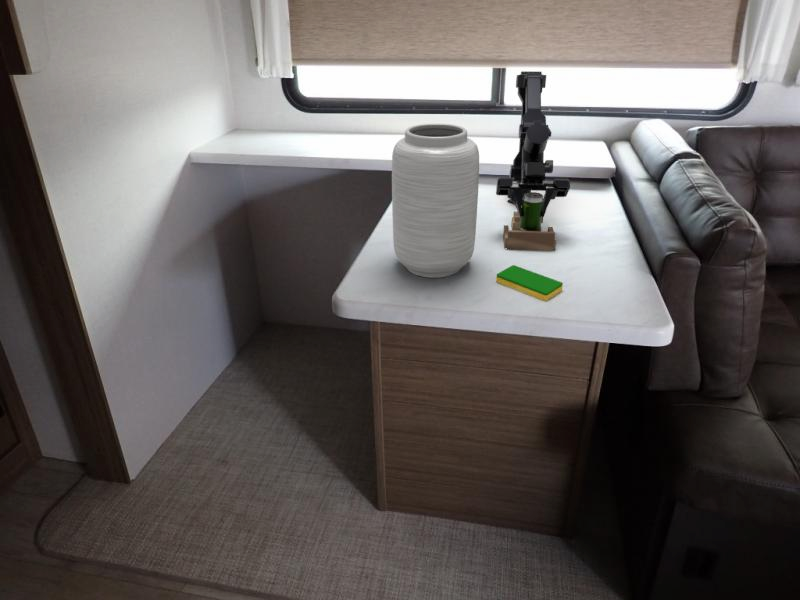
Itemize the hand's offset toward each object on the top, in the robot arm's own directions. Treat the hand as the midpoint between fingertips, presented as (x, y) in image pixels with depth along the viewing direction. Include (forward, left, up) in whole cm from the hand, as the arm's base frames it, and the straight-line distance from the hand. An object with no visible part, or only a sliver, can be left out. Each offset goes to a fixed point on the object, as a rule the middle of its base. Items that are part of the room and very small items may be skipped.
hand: (531, 216), depth 151 cm
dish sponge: (+21, +11, -9) cm, 25 cm away
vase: (+26, -13, -8) cm, 30 cm away
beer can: (-1, -1, -7) cm, 7 cm away
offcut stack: (-9, -6, -8) cm, 14 cm away
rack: (-1, -1, -8) cm, 8 cm away
